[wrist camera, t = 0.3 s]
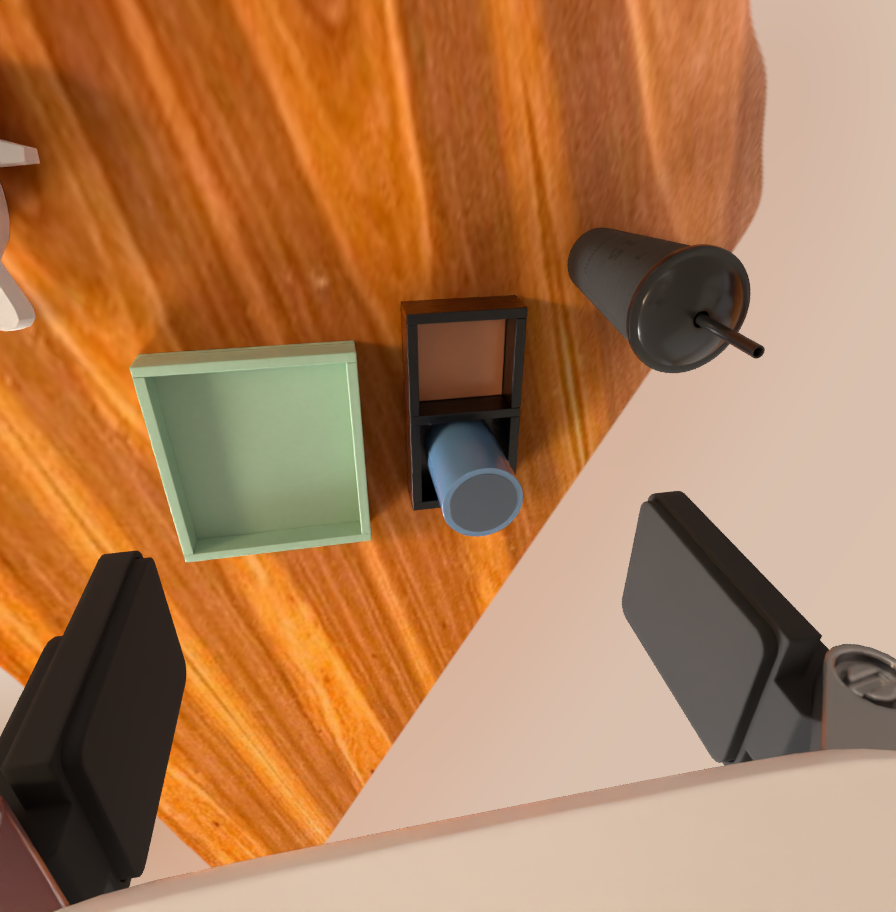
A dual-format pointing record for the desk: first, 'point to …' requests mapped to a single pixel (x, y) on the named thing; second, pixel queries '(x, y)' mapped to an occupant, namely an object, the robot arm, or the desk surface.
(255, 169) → the desk surface
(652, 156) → the desk surface
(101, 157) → the desk surface
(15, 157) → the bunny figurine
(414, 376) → the black divided tray
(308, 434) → the tray
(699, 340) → the drinking cup
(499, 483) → the blue cup
